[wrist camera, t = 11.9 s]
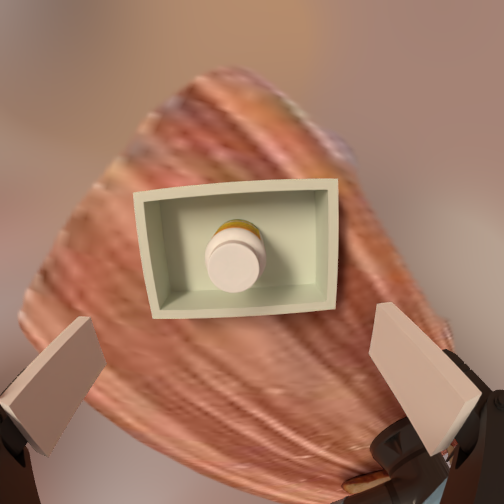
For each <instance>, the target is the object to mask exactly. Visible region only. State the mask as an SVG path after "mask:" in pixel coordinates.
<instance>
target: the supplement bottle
mask: <svg viewBox="0 0 504 504" xmlns="http://www.w3.org/2000/svg"><path fill="white" fill-rule="evenodd" d="M205 265H206V268H207V271H208V275H209V277H210V279H211V281H212V283H213V284H214V285H215V286H216V287H217V288H219V289H221V290H223V291H225V292H229V293H239V292H243V291H245V290H247V289H249V288H250V287H251V286H252V285H253V284H254V283H255V282H256V281H257V280H258V279H259V277H260V276H261V275H262V273H263V271H264V269H265V266H266V250H265V246H264V241H263V237H262V235H261V232H260V231H259V229H258V228H257V227H256V226H255V225H254V224H253V223H251V222H249V221H247V220H243V219H232V220H229V221H227V222H225V223H224V224H222V225H221V226H220V227H219V228H218V230H217V231H216V233H215V234H214V235H213V237H212V238H211V240H210V241H209V243H208V245H207V247H206V250H205Z"/></svg>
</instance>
